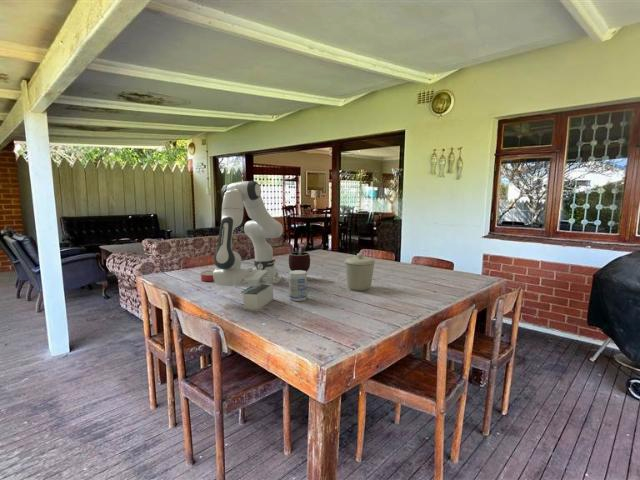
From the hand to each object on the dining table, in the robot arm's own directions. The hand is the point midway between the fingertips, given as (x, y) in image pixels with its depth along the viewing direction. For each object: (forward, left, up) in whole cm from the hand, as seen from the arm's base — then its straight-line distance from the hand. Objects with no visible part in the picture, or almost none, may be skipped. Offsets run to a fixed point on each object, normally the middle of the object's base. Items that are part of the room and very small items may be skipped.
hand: (272, 278), depth 180 cm
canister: (-41, +37, -14) cm, 57 cm away
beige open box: (+2, -7, -14) cm, 15 cm away
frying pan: (-47, -60, -14) cm, 77 cm away
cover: (+2, -7, -4) cm, 8 cm away
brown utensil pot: (-53, -4, -14) cm, 55 cm away
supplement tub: (-12, +9, -14) cm, 21 cm away
